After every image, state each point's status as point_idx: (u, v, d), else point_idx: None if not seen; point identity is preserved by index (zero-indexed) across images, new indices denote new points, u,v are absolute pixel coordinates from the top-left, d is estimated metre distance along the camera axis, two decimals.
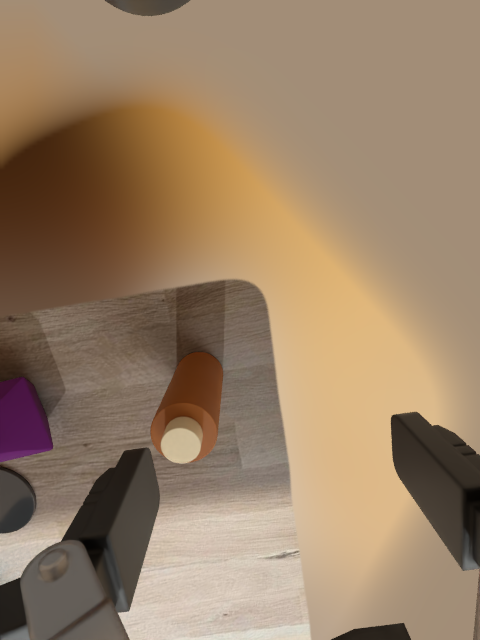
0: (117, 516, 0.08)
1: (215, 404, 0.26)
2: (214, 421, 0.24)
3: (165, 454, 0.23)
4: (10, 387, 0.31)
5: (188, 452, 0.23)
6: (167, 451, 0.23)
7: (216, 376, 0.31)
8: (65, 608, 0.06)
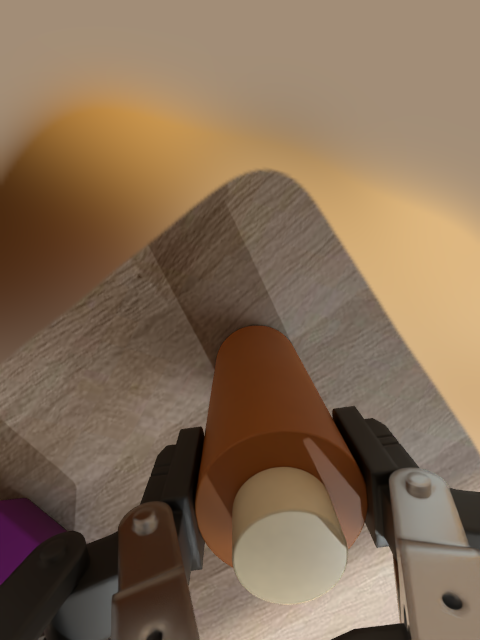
0: (190, 483, 0.09)
1: (316, 404, 0.11)
2: (340, 447, 0.09)
3: (262, 596, 0.08)
4: None
5: (319, 566, 0.08)
6: (263, 587, 0.08)
7: (285, 351, 0.16)
8: (148, 563, 0.07)
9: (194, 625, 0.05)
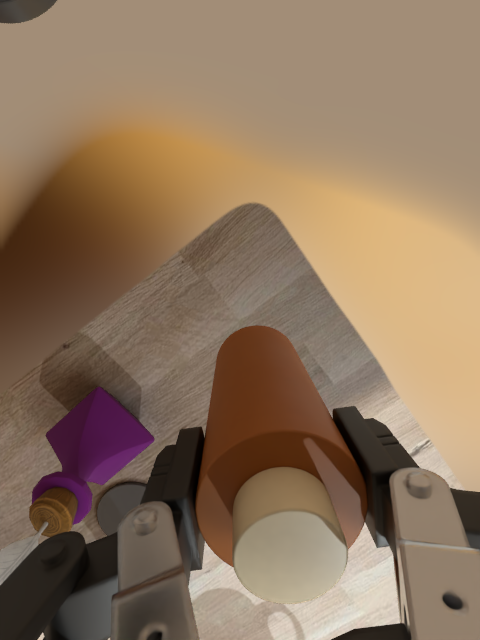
0: (190, 483, 0.09)
1: (316, 404, 0.11)
2: (340, 448, 0.09)
3: (263, 595, 0.08)
4: (91, 398, 0.32)
5: (319, 565, 0.08)
6: (264, 586, 0.08)
7: (286, 351, 0.16)
8: (148, 563, 0.07)
9: (194, 625, 0.05)
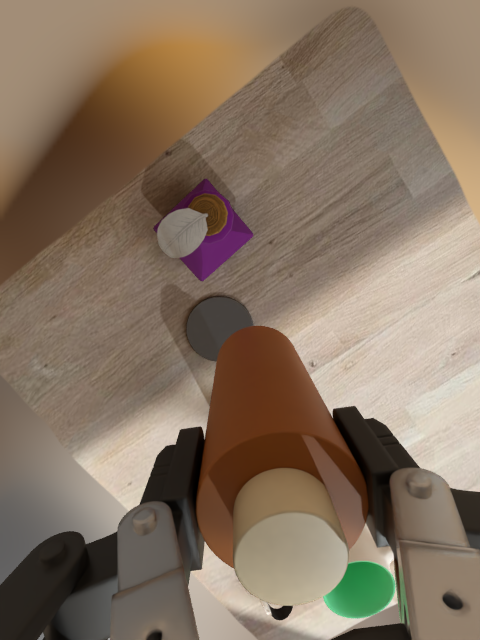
0: (190, 483, 0.09)
1: (317, 404, 0.11)
2: (341, 449, 0.09)
3: (263, 597, 0.08)
4: (201, 186, 0.35)
5: (320, 567, 0.08)
6: (264, 588, 0.08)
7: (286, 352, 0.16)
8: (148, 563, 0.07)
9: (194, 625, 0.05)
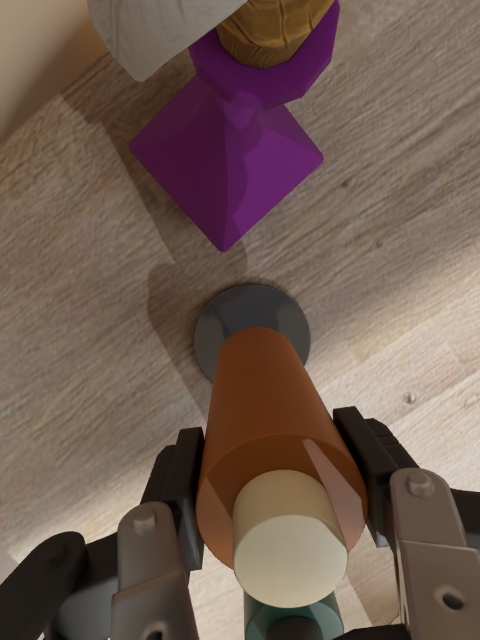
0: (190, 483, 0.09)
1: (316, 406, 0.11)
2: (340, 450, 0.09)
3: (263, 599, 0.08)
4: None
5: (320, 569, 0.08)
6: (264, 590, 0.08)
7: (286, 353, 0.16)
8: (148, 563, 0.07)
9: (194, 625, 0.05)
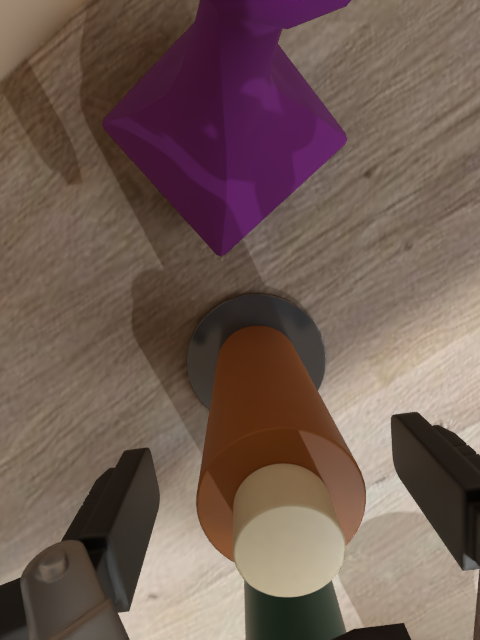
0: (117, 516, 0.08)
1: (315, 402, 0.11)
2: (338, 445, 0.09)
3: (262, 588, 0.08)
4: None
5: (318, 559, 0.08)
6: (263, 580, 0.08)
7: (286, 351, 0.16)
8: (65, 608, 0.06)
9: None
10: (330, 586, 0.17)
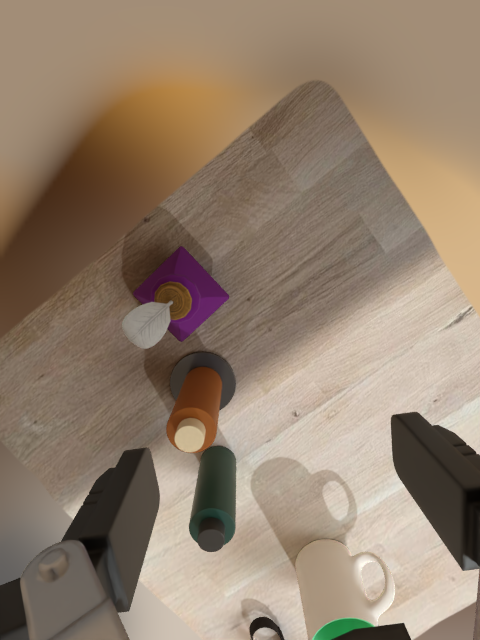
0: (117, 516, 0.08)
1: (207, 400, 0.34)
2: (206, 412, 0.32)
3: (182, 449, 0.31)
4: (176, 254, 0.36)
5: (196, 441, 0.31)
6: (183, 447, 0.31)
7: (208, 380, 0.39)
8: (65, 608, 0.06)
9: None
10: (231, 481, 0.40)
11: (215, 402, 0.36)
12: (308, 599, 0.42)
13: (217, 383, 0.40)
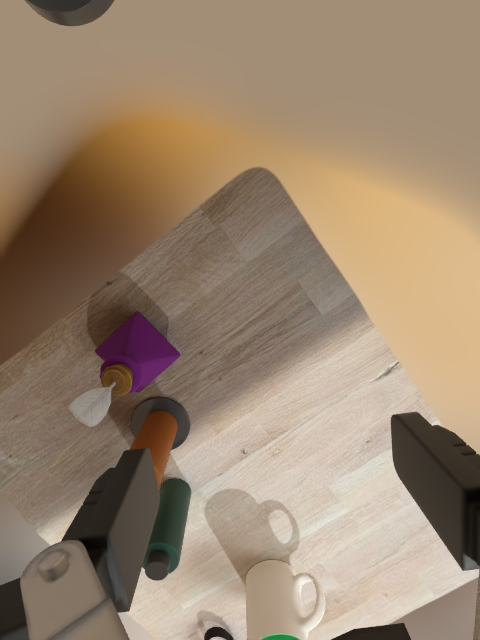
0: (117, 516, 0.08)
1: (155, 450, 0.39)
2: None
3: None
4: (132, 319, 0.41)
5: None
6: None
7: (161, 427, 0.44)
8: (65, 608, 0.06)
9: None
10: (182, 514, 0.45)
11: (164, 450, 0.41)
12: (250, 615, 0.48)
13: (171, 428, 0.45)
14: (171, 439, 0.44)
